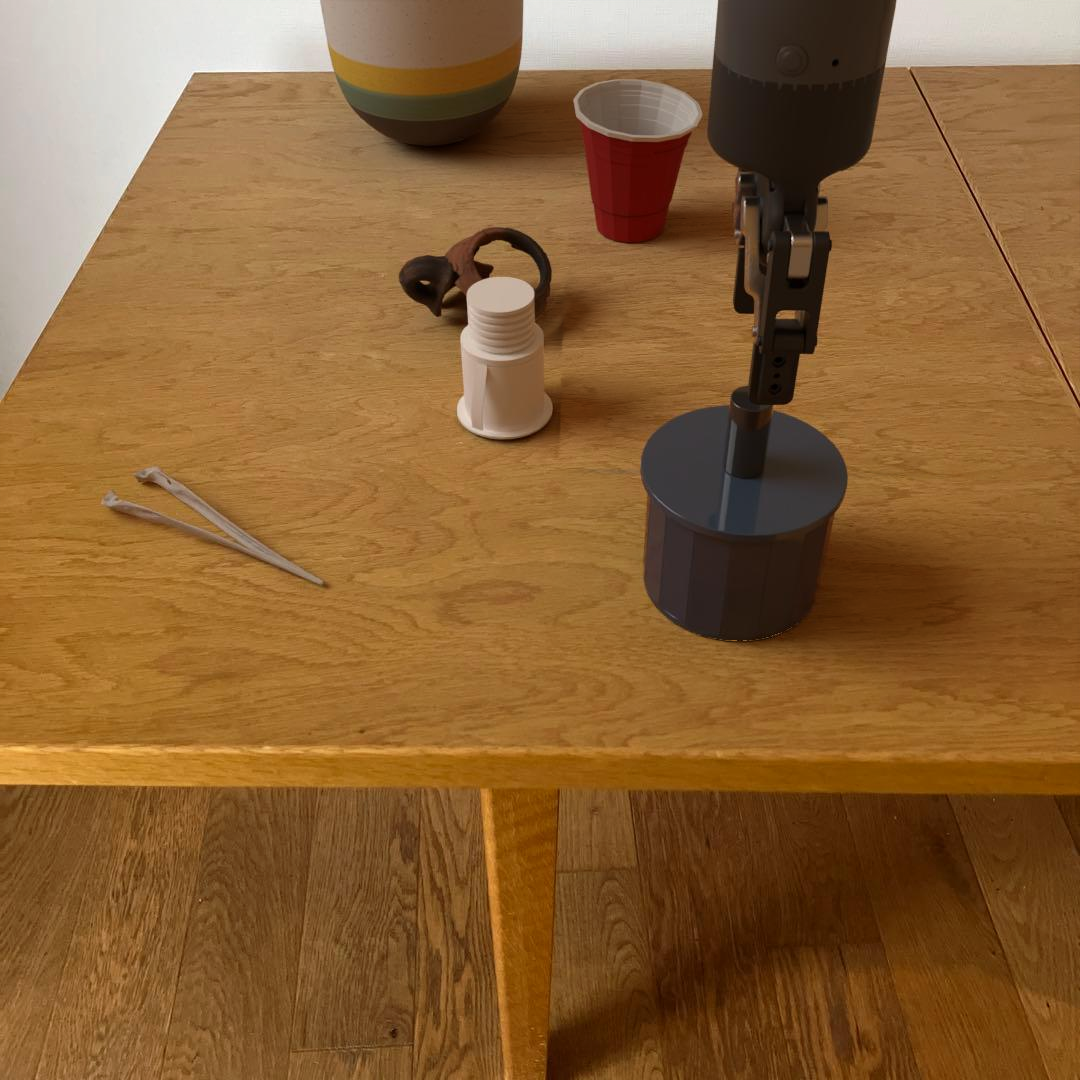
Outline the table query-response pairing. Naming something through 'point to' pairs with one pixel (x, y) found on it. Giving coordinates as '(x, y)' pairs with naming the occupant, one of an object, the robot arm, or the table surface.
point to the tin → (731, 578)
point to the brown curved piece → (469, 269)
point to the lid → (743, 472)
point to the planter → (425, 63)
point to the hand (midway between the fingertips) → (760, 353)
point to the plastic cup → (634, 152)
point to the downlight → (502, 362)
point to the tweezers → (207, 511)
